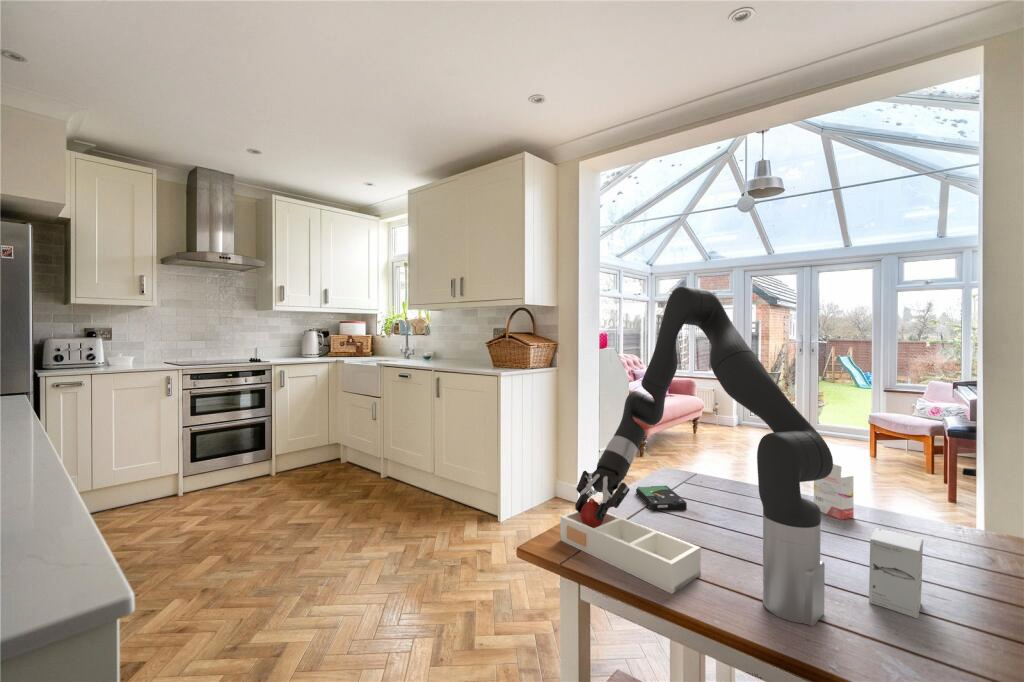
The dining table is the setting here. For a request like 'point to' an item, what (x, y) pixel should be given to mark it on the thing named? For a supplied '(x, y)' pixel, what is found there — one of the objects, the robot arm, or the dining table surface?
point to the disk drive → (661, 498)
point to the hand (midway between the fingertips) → (587, 514)
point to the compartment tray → (635, 550)
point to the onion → (590, 514)
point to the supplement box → (896, 571)
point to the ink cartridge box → (835, 494)
